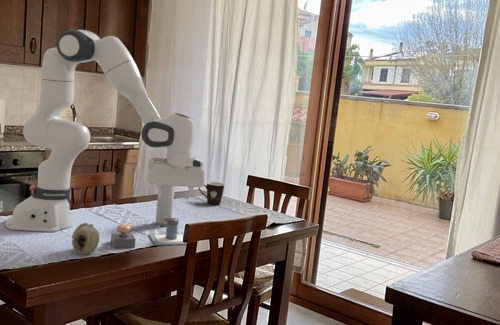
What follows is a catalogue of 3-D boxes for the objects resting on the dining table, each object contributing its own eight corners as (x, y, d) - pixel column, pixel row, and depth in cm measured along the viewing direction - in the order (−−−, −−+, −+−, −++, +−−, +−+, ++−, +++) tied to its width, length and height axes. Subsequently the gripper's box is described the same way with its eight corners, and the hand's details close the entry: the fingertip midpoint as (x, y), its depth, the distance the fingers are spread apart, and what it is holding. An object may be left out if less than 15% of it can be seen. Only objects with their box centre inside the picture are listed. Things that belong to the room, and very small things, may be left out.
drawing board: (155, 245, 182) (155, 243, 182) (148, 235, 192) (149, 233, 192) (193, 244, 188) (194, 242, 187) (185, 235, 197) (185, 233, 197)
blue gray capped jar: (166, 239, 187) (168, 220, 186) (164, 236, 191) (165, 217, 190) (178, 239, 189) (179, 220, 188) (175, 236, 192) (177, 217, 191)
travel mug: (168, 227, 205) (173, 177, 202) (152, 224, 206) (157, 175, 203) (174, 223, 211) (178, 175, 208) (158, 221, 212) (163, 173, 209)
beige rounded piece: (72, 256, 170) (68, 225, 170) (99, 251, 173) (95, 221, 174) (74, 257, 161) (70, 225, 162) (102, 251, 164) (98, 220, 165)
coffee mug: (225, 204, 255) (228, 184, 253) (215, 206, 247) (217, 186, 246) (206, 199, 261) (208, 179, 259) (196, 201, 253) (198, 181, 252)
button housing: (113, 248, 174) (114, 239, 174) (110, 241, 181) (111, 233, 180) (134, 247, 177) (135, 239, 177) (131, 241, 184) (131, 232, 183)
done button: (117, 241, 176) (118, 228, 175) (115, 237, 180) (116, 224, 179) (130, 241, 178) (131, 228, 177) (128, 237, 182) (129, 224, 181)
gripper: (151, 158, 178) (146, 197, 180) (208, 163, 186) (203, 201, 187) (147, 155, 184) (143, 194, 185) (202, 161, 192) (198, 198, 193)
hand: (173, 198), depth 187 cm, fingers open, 8 cm apart
